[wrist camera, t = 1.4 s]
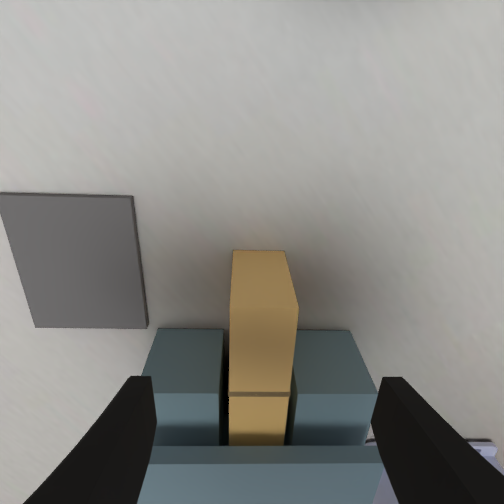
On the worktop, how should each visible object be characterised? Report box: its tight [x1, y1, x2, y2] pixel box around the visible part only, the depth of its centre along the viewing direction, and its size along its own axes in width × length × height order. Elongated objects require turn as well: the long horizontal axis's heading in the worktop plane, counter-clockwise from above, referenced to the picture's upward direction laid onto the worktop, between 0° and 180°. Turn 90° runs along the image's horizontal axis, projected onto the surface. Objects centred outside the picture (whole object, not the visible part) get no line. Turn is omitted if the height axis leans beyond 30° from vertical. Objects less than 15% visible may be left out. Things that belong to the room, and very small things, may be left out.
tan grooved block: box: [228, 250, 299, 446], centre depth 17 cm, size 3×9×5 cm, turn 178°
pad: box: [0, 193, 148, 329], centre depth 17 cm, size 6×7×1 cm
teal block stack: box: [137, 329, 384, 504], centre depth 18 cm, size 11×8×6 cm
